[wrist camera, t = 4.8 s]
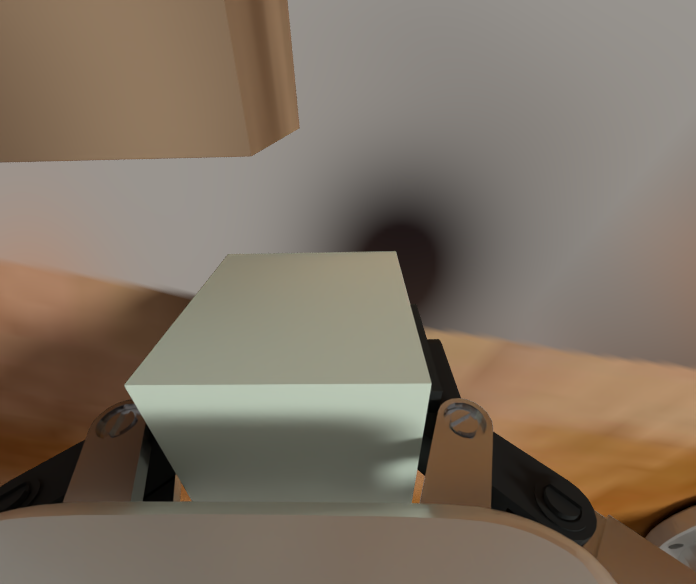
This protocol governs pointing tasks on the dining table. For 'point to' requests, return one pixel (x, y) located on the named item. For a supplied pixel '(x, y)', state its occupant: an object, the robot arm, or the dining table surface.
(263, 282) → the sage block
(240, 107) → the walnut block
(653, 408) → the dining table surface
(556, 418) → the dining table surface
